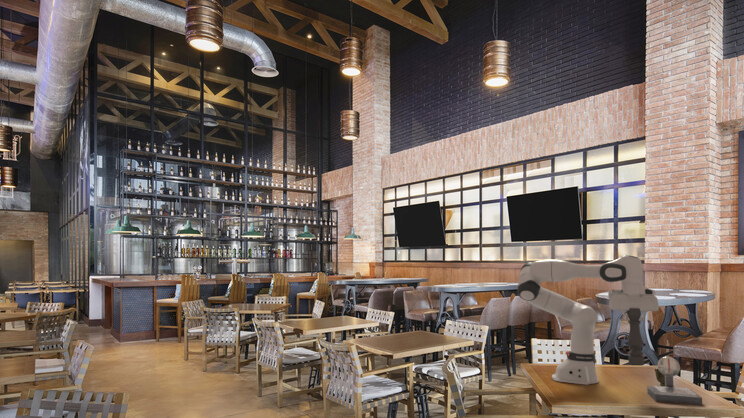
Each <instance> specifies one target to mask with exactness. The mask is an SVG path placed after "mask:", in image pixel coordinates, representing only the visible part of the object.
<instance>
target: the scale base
mask: <svg viewBox="0 0 744 418" xmlns="http://www.w3.org/2000/svg"><path fill="white" fill-rule="evenodd" d="M657 368H658V370H659V371H660V372H661V373H662V374H663V375H665V386H666V387H675V386H674V377H676V376H677V375H679V373H680V370H681V366H680V362H679V361H678V360H677V359H676V358H674V357H672V356H663V357H661V358H660V359H659V360H658V361H657ZM646 387H647V389H646V390H647V394H648V395H649V396H650V397H651V398H652V399H653V400H654V401H655V402H660V401H664V402H663V403H672V402H673V403H675V404H684V403H686V404H687V405H701V406H703V397H702V396H701V395H699V394H697V393H696V392H695V391H694V390H692V389H690V390H691V391H693V392H694V393H695V394H696V395H697V397H685V396H673V395H660V394H659V393H658V392H657V391H656V390H655V389H654V386H647V385H646ZM673 403H672V404H673ZM686 404H685V405H686Z"/></svg>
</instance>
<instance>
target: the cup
mask: <svg viewBox="0 0 744 418" xmlns="http://www.w3.org/2000/svg"><path fill="white" fill-rule="evenodd" d="M654 372H655V377H656V381H657V382H658V383H660V384H659V386H665V375H663V374H662V373H661V372H660V371H659V369H658V367H657V368H655V369H654Z"/></svg>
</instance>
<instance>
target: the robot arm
mask: <svg viewBox="0 0 744 418" xmlns="http://www.w3.org/2000/svg"><path fill="white" fill-rule="evenodd" d="M643 276H644V271H643V263H642V261H641V259H640V258H639V257H638V256H634V255H628V254H623V255H621V256H620V257H618V258H617V259H614V260H610V261H608V262H605V263H602V264H580V263H579V264H578V263H574V262H571V261H567V260H562V259H541V260H535V261H533V262H530V261H529V262H526V263H525V262H524V264H523V265H522V267H521V268H520V273H519V277H518V283H517V284H518V285H517V290H516V291H517V296H518V297H519V298H520V299H522V300H524V301H526V302H527V303H529V304H530V305H532V306H533V307H535V308H538V309H540V310H543V311H545V312H547V313H549V314H552V315H554V316H557V317H559V318H560V319H563V320H565V321H568V322H570V323H572V330H571V334H570V351H568V350H566V351H565V356H566V359H564V360H563V361H561V363H559V364H558V365H557V367H556V369H555V370H556V371H555V373H554V374H553V373H552V375H551V379H552V380H553V381H555V382H560V383H567V384H568V383H569V384H577V385H586V386H587V385H591V384H597V383H599V381H600V380H599V379H598V374H597V371H596V369H597V368H596V354H595V349H594V348H595V347H594V346H595V344H594V342H595V341H594V335H595V329H596V324H597V322H598V314H597V312H596V311H595V309H594V308H593V307H592V306H590V305H586V304H582V303H580V302H577V301H576V300H573V299H570V298H568V297H566V296H564V295H562V294H559V293H557V292H556V291H555V292H554V291H552V290H550V289H548V288H544V287H542V285H541V284H542V283H543V282H549V283H551V282H552V283H554V282H557V283H558V282H562V283H563V282H568V281H571V280H574V279H580V278H581V279H582V278H591V279H592V278H593V279H594V278H596V279H601V280H603V281H605V282H606V283H610V284H611V283H617V282H621V289H611V290H609V291H608V294H607V296H608V299H609V303H608V307H609V309H610V310H611V311H620V312H621V314H622V316H623V318H624V319H623V320H624V321H629V317H628V315H627V314H626V311H627V310H629V308H638V309H640V311H641V316H640V319H639V321H640V322H644V321H645V317H646V315H647V313H648V312H658V311H659V309H660V307H659V306H660V304H659V300H658V298H657V296H656V291H655V290H654V289H651V288H649V287H645V286H644V282H643Z"/></svg>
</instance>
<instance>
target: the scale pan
mask: <svg viewBox="0 0 744 418" xmlns="http://www.w3.org/2000/svg"><path fill="white" fill-rule="evenodd" d="M653 387H654V389H655V390H656V391H657V392H658V393H659V394H660V395H673V396H685V397H697V395H696V394H697V393H696V392H695V391H694V390H692V389H690V388H689V387H676V386H674V387H666V386H661V385H653ZM691 390H692V391H691ZM693 391H694V392H695V393H696V394H695V393H694V392H693Z"/></svg>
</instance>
